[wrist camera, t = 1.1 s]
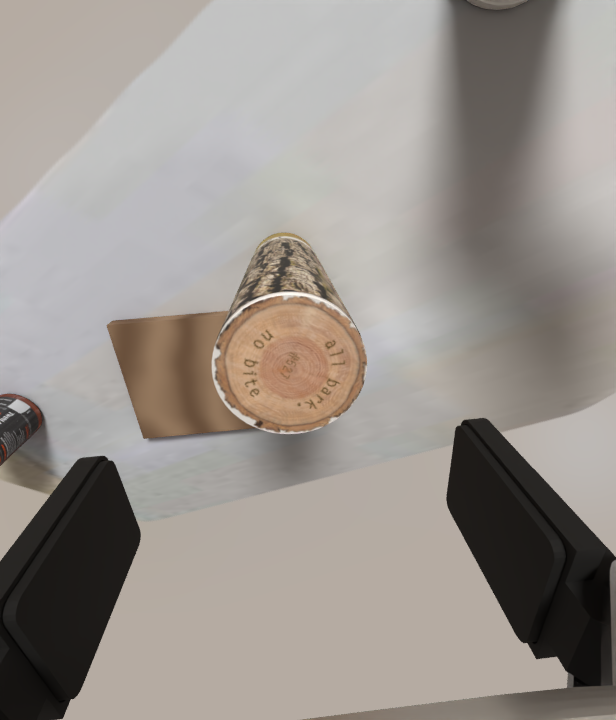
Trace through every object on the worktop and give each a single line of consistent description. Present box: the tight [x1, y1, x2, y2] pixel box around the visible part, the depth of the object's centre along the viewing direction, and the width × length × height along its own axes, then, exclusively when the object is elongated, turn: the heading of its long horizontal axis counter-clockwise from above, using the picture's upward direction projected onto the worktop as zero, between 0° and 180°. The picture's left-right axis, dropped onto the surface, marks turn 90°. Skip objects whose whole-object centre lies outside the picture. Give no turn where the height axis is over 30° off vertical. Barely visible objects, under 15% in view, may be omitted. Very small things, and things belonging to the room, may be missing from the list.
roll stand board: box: [107, 311, 256, 439], centre depth 42 cm, size 15×15×2 cm
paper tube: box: [212, 233, 367, 434], centre depth 27 cm, size 7×7×25 cm
